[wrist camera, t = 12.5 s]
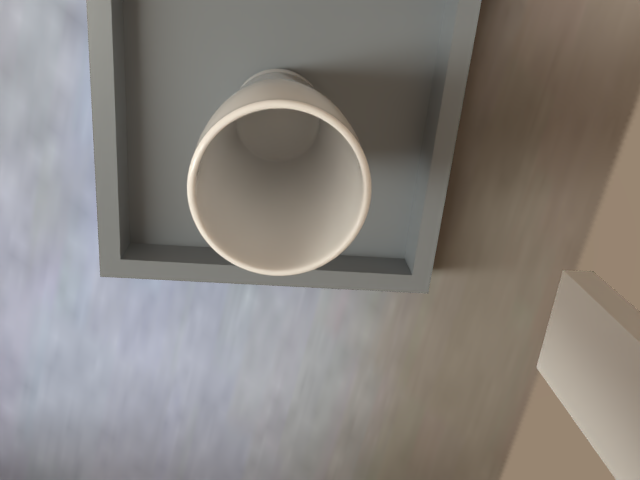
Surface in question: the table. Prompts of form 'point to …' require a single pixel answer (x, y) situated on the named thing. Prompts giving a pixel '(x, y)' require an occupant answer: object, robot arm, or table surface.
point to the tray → (227, 77)
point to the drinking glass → (278, 177)
